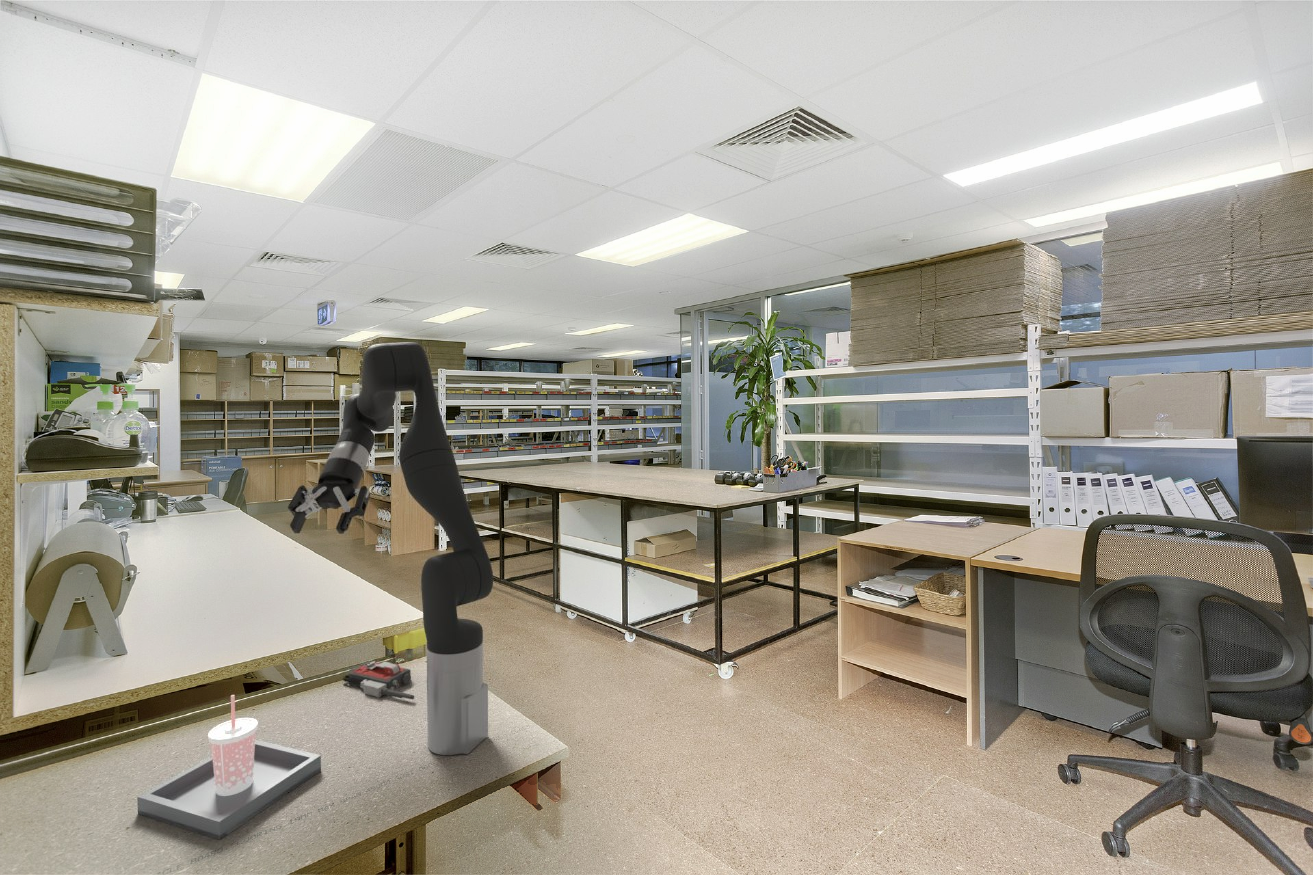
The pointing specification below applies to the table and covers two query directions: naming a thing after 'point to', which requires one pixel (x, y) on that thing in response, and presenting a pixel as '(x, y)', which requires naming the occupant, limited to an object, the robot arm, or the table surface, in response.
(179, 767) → the table surface
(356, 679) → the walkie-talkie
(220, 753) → the beverage cup
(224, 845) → the table surface
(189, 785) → the tray
